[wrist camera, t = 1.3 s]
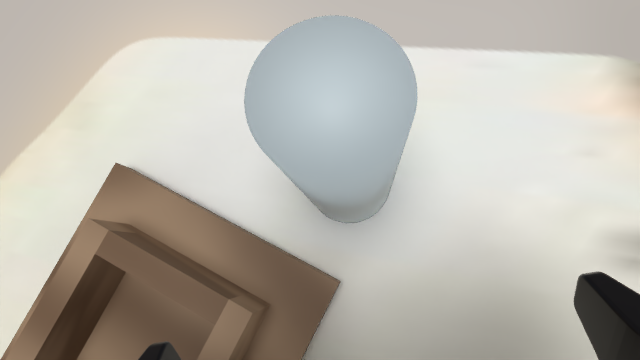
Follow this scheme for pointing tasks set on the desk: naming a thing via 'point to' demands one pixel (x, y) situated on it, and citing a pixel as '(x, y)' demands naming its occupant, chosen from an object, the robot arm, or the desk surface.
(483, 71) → the desk surface
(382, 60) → the peg
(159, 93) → the desk surface
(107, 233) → the cradle jig
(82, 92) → the desk surface
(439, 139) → the desk surface
